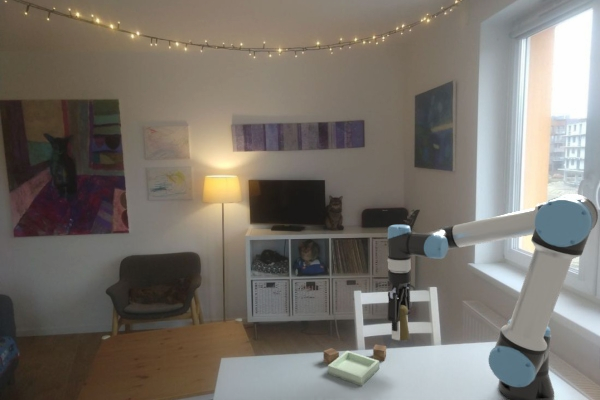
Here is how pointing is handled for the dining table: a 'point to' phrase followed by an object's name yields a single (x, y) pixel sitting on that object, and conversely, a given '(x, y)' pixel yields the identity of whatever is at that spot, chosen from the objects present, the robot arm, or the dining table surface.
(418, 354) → the dining table surface
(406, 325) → the olive tall rounded piece
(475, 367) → the dining table surface
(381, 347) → the walnut cube
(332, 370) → the tray
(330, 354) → the walnut cube
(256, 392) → the dining table surface
